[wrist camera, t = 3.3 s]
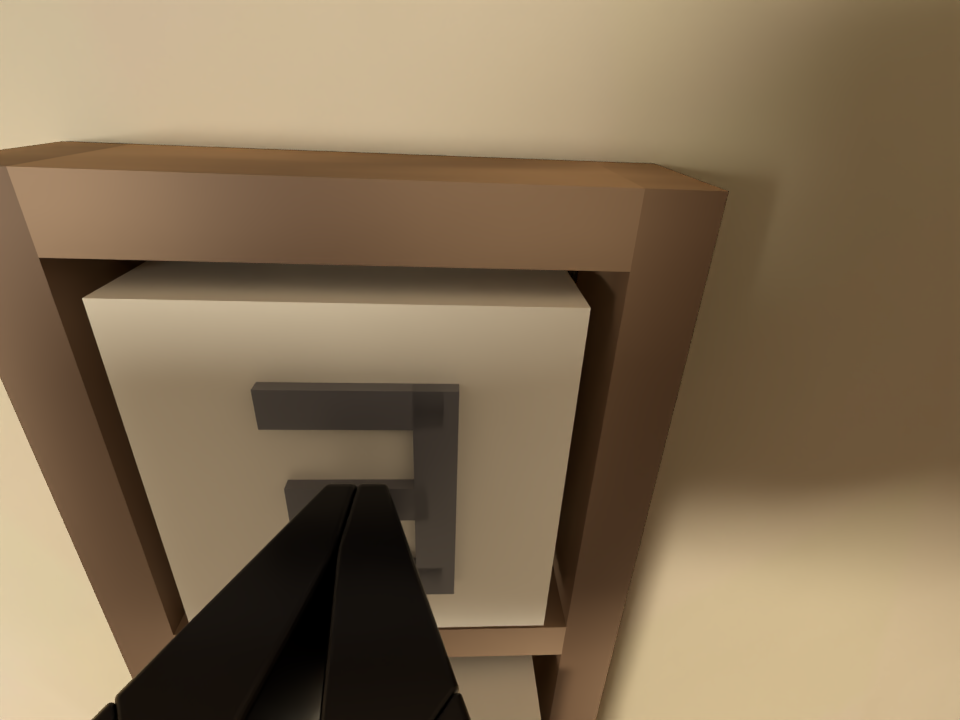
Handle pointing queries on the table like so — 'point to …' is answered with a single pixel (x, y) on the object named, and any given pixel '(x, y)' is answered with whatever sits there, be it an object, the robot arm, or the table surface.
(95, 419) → the tile rack
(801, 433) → the table surface
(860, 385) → the table surface
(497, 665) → the tile
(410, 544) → the tile
